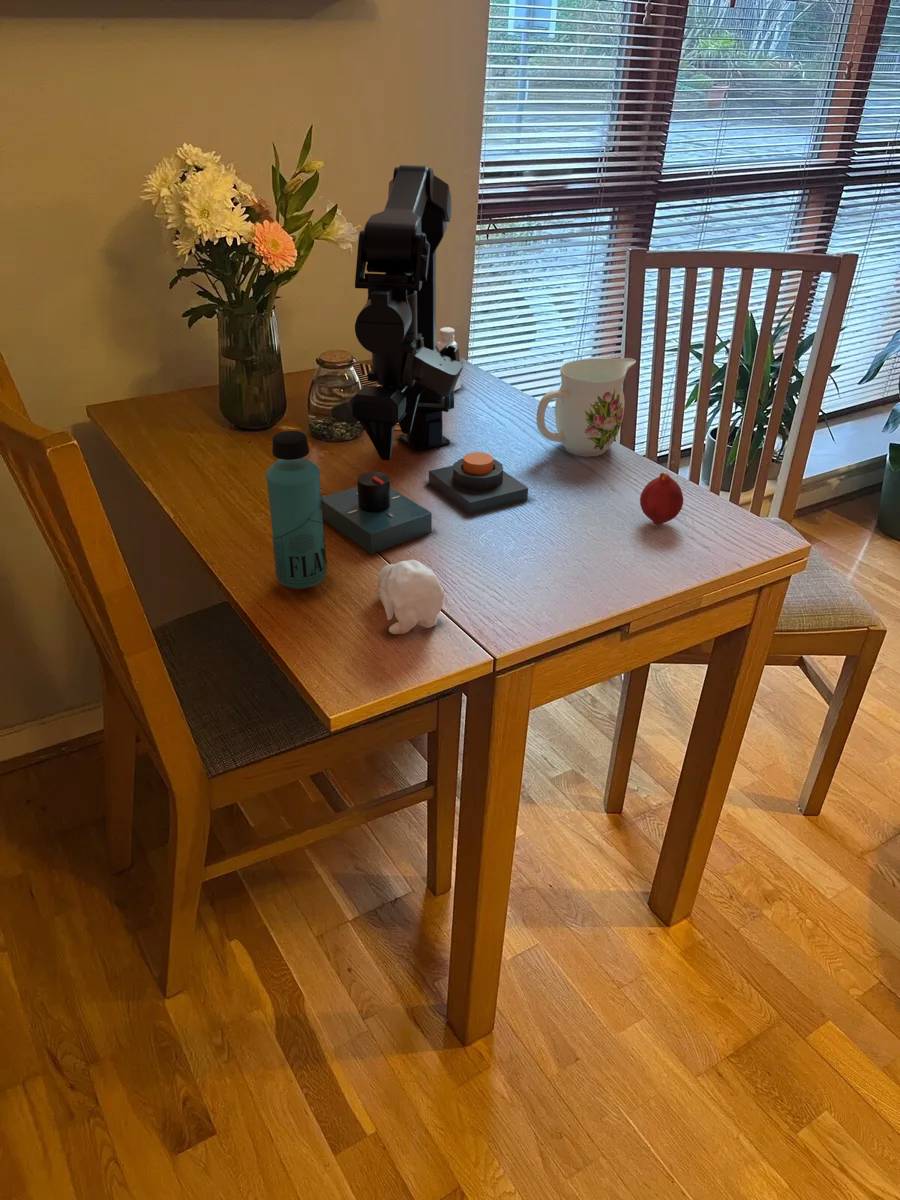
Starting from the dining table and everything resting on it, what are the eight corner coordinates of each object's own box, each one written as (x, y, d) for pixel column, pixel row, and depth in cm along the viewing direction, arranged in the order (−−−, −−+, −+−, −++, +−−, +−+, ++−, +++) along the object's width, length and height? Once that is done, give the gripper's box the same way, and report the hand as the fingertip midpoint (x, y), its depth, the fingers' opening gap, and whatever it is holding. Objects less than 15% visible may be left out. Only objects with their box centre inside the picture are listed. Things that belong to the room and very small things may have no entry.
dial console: (319, 517, 130) (318, 497, 128) (378, 497, 135) (377, 478, 134) (371, 554, 122) (370, 533, 120) (431, 532, 127) (431, 511, 125)
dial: (352, 503, 127) (350, 475, 125) (378, 494, 129) (377, 466, 127) (370, 515, 124) (369, 486, 122) (396, 506, 126) (396, 478, 124)
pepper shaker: (429, 391, 172) (429, 332, 166) (434, 381, 177) (435, 323, 171) (458, 393, 171) (459, 334, 165) (462, 383, 176) (464, 325, 170)
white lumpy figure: (393, 580, 99) (359, 539, 109) (397, 648, 103) (364, 602, 113) (447, 569, 101) (409, 529, 111) (449, 636, 105) (412, 592, 115)
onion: (653, 510, 133) (660, 459, 129) (687, 524, 130) (696, 472, 125) (629, 523, 130) (636, 471, 125) (663, 538, 126) (671, 485, 122)
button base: (428, 482, 140) (428, 458, 138) (484, 469, 144) (485, 445, 142) (469, 515, 131) (470, 490, 129) (527, 500, 135) (529, 475, 133)
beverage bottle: (286, 604, 111) (271, 451, 100) (269, 579, 116) (252, 430, 105) (336, 592, 114) (327, 441, 103) (317, 567, 118) (306, 420, 108)
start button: (457, 466, 136) (457, 455, 135) (482, 460, 138) (483, 449, 137) (473, 478, 133) (473, 466, 132) (498, 471, 135) (499, 460, 134)
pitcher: (516, 447, 151) (520, 365, 144) (604, 428, 159) (613, 349, 151) (554, 473, 143) (560, 388, 136) (645, 451, 151) (656, 369, 143)
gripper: (437, 358, 105) (436, 482, 113) (474, 314, 120) (471, 426, 129) (345, 349, 107) (351, 472, 116) (392, 307, 122) (395, 418, 131)
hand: (396, 446), depth 123 cm, fingers open, 9 cm apart
